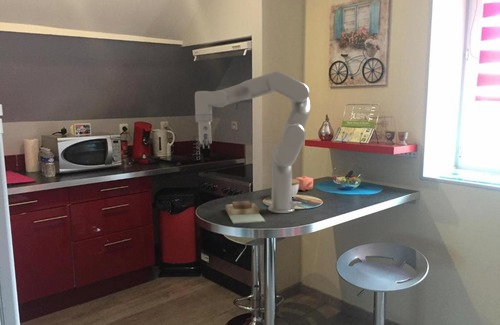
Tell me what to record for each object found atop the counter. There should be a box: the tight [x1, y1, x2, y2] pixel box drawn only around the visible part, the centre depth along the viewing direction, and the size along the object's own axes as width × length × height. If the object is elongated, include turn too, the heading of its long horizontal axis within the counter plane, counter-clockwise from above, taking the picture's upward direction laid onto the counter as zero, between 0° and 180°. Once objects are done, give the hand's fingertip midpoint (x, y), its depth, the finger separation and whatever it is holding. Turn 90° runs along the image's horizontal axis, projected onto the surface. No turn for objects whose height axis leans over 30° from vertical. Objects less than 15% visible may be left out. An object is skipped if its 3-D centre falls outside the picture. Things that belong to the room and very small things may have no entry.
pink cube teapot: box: [294, 175, 314, 192], centre depth 245 cm, size 8×12×8 cm, turn 34°
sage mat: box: [228, 213, 266, 225], centre depth 188 cm, size 14×12×1 cm
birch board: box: [225, 202, 260, 216], centre depth 199 cm, size 14×11×2 cm
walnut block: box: [231, 200, 252, 209], centre depth 199 cm, size 8×7×2 cm
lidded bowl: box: [292, 178, 299, 197], centre depth 228 cm, size 13×13×11 cm
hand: (205, 155), depth 195 cm, fingers open, 9 cm apart
